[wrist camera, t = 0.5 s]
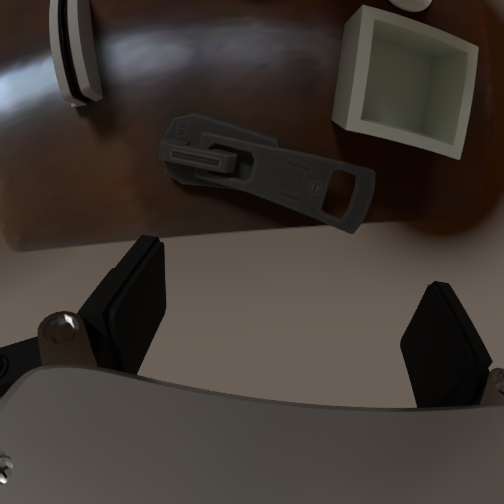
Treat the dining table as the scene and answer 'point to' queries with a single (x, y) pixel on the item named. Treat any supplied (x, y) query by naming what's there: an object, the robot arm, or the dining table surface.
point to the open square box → (404, 81)
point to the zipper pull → (260, 168)
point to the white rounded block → (74, 51)
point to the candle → (411, 4)
